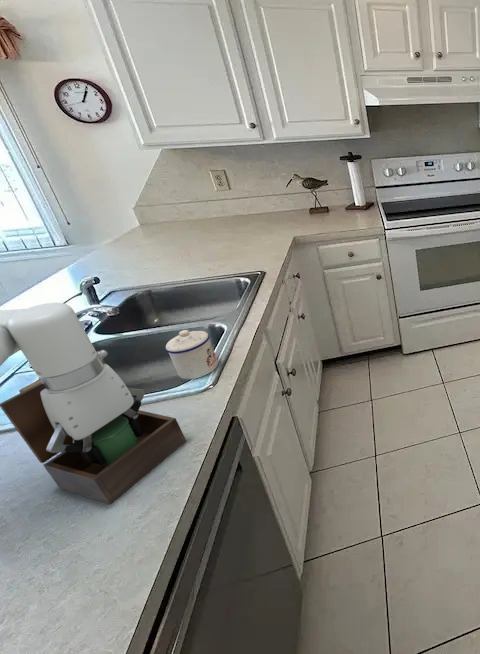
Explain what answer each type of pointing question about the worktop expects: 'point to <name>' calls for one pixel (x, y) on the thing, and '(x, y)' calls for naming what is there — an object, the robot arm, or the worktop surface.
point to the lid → (32, 419)
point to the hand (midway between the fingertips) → (117, 447)
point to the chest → (118, 461)
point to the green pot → (114, 439)
